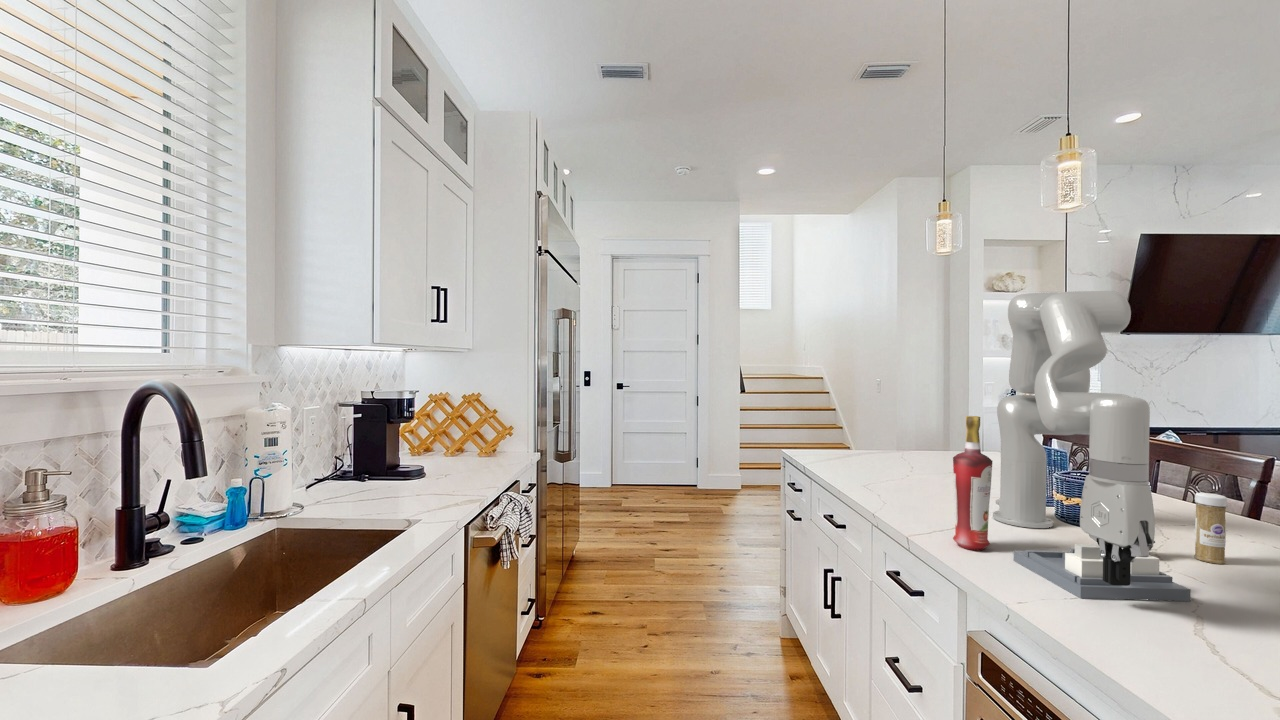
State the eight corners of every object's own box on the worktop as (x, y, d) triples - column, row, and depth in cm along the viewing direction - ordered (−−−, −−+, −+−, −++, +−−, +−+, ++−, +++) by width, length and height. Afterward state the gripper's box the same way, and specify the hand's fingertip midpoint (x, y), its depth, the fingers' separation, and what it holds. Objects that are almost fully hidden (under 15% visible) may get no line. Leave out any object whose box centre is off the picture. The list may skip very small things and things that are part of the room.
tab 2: (1112, 569, 103) (1113, 539, 103) (1139, 570, 103) (1140, 540, 103) (1131, 578, 99) (1131, 546, 99) (1159, 578, 99) (1159, 547, 99)
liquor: (965, 539, 127) (967, 414, 127) (998, 549, 120) (1000, 417, 120) (944, 544, 123) (946, 415, 123) (977, 554, 117) (979, 418, 117)
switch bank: (1013, 560, 114) (1013, 545, 114) (1105, 562, 113) (1105, 547, 113) (1080, 598, 96) (1080, 580, 96) (1190, 601, 95) (1190, 583, 95)
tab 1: (1064, 572, 102) (1065, 541, 102) (1092, 573, 101) (1092, 542, 101) (1081, 581, 98) (1082, 549, 98) (1110, 582, 97) (1110, 550, 97)
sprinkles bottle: (1210, 564, 113) (1211, 497, 113) (1187, 556, 118) (1188, 491, 118) (1232, 564, 113) (1233, 497, 113) (1208, 556, 118) (1209, 492, 118)
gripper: (1062, 463, 101) (1060, 566, 101) (1132, 481, 86) (1131, 602, 86) (1105, 463, 101) (1103, 567, 101) (1183, 482, 86) (1181, 603, 86)
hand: (1116, 583), depth 93 cm, fingers closed
